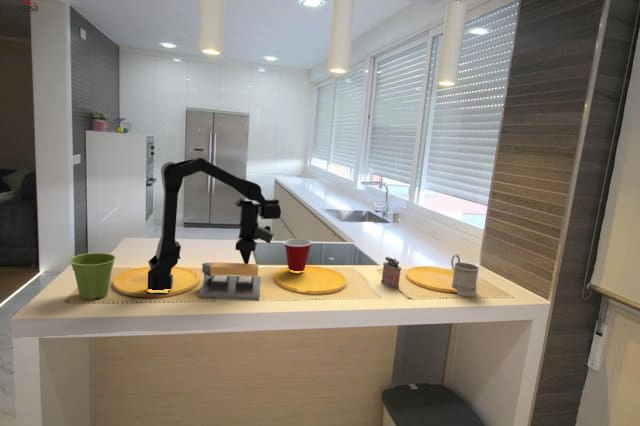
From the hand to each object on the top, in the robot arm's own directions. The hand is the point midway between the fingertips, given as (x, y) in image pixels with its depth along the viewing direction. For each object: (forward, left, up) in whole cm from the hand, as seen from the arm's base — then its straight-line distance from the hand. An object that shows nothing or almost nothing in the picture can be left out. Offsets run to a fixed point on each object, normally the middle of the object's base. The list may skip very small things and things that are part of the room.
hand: (246, 264), depth 142 cm
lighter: (+52, +3, -7) cm, 53 cm away
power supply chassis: (-4, -6, -6) cm, 10 cm away
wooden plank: (-5, -6, -1) cm, 8 cm away
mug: (+78, +1, -7) cm, 78 cm away
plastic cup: (+18, +14, -7) cm, 24 cm away
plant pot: (-43, -16, -7) cm, 46 cm away
